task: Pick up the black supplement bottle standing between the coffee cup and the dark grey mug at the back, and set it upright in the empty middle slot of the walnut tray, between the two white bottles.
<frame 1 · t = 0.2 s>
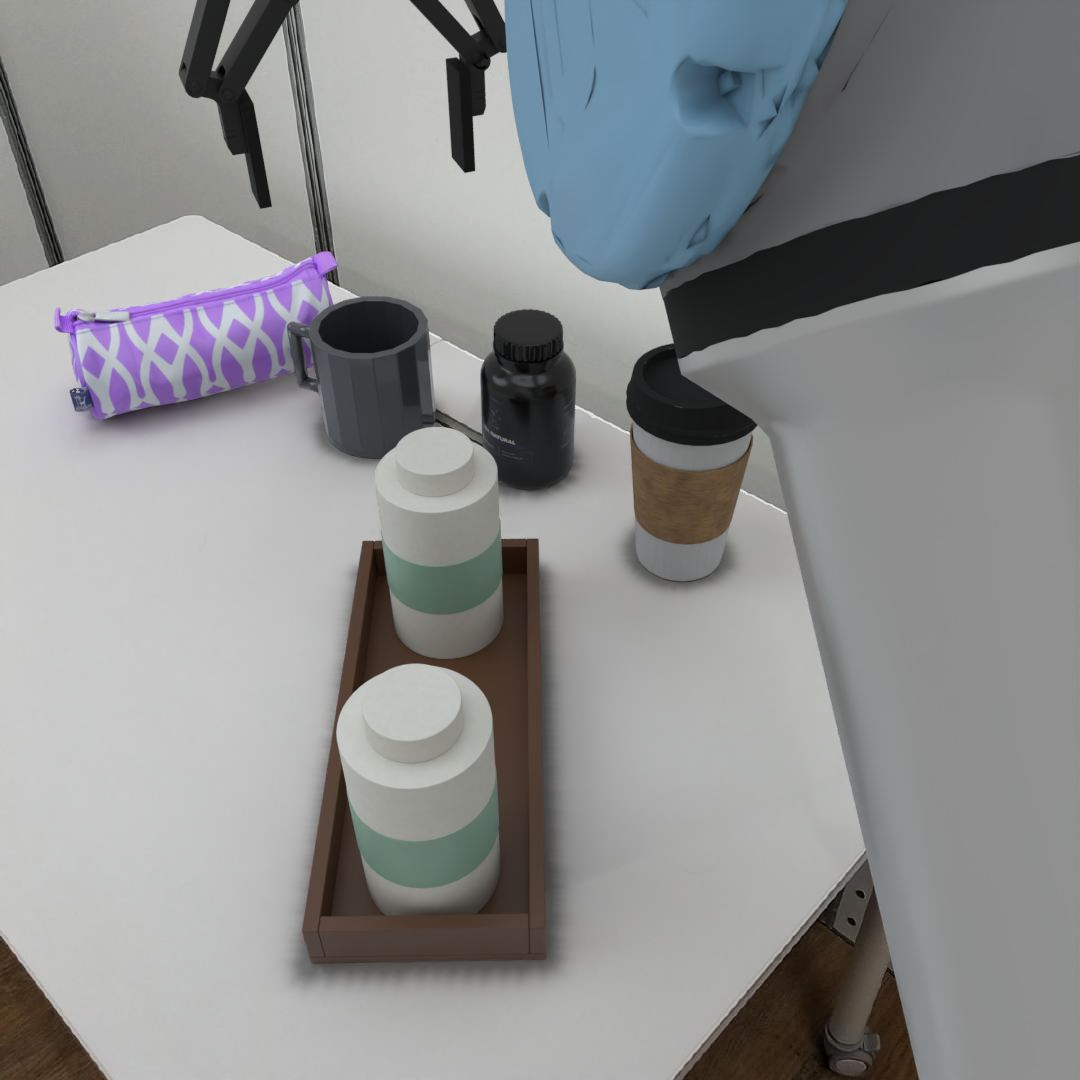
hand: (365, 181, 73), 21 cm above the table, tool pointing down, fingers open, 13 cm apart
coffee cup: (678, 554, 77), on the table
white bottle near: (433, 868, 58), point 1 cm above the table, touching tray
supplement bottle: (529, 465, 84), on the table
white bottle far: (449, 618, 71), point 1 cm above the table, touching tray
pencil case: (217, 383, 93), on the table
grey mug: (381, 424, 88), on the table
tray: (442, 736, 65), on the table
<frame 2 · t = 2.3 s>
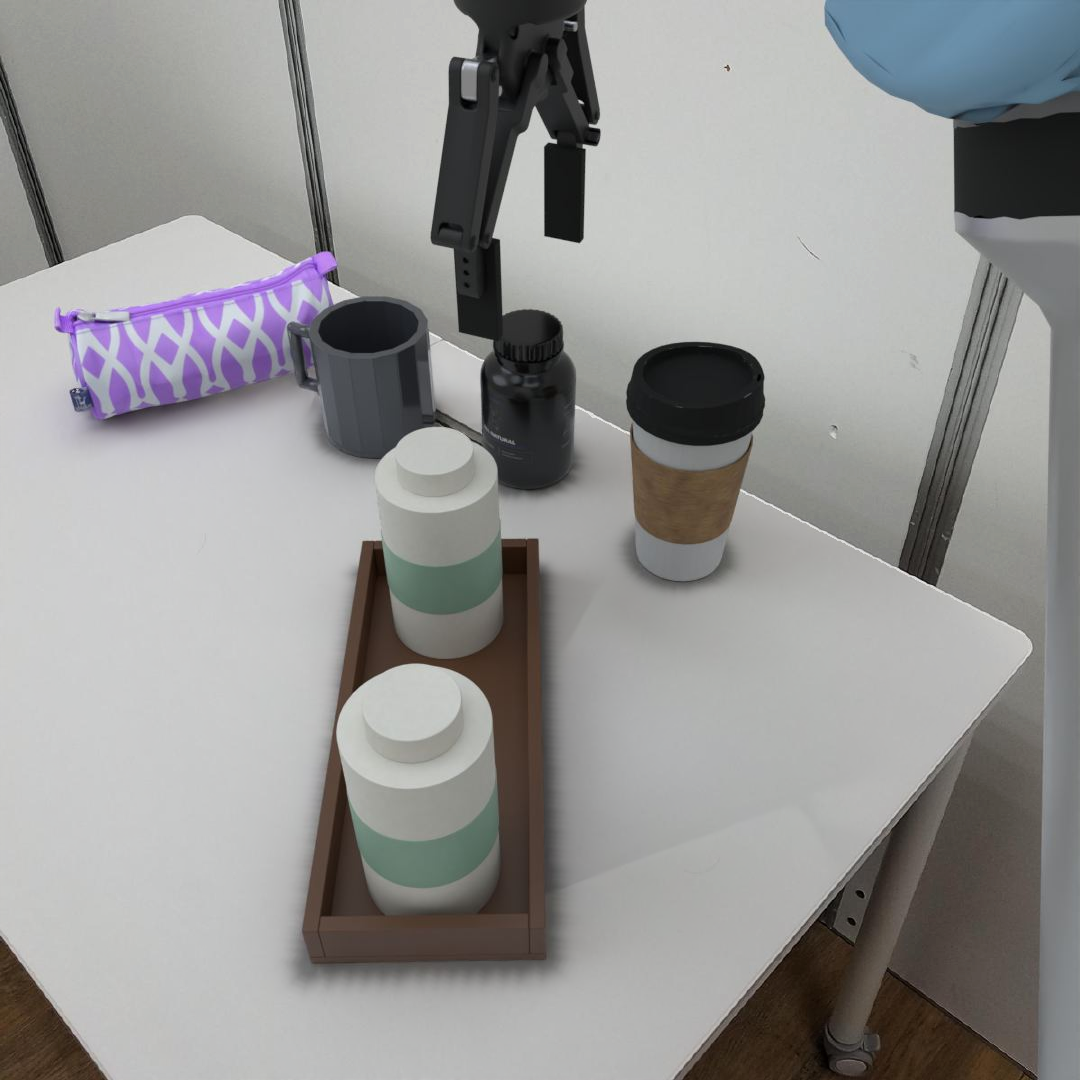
hand: (525, 283, 74), 15 cm above the table, tool pointing down, fingers open, 13 cm apart
nothing on the table moved.
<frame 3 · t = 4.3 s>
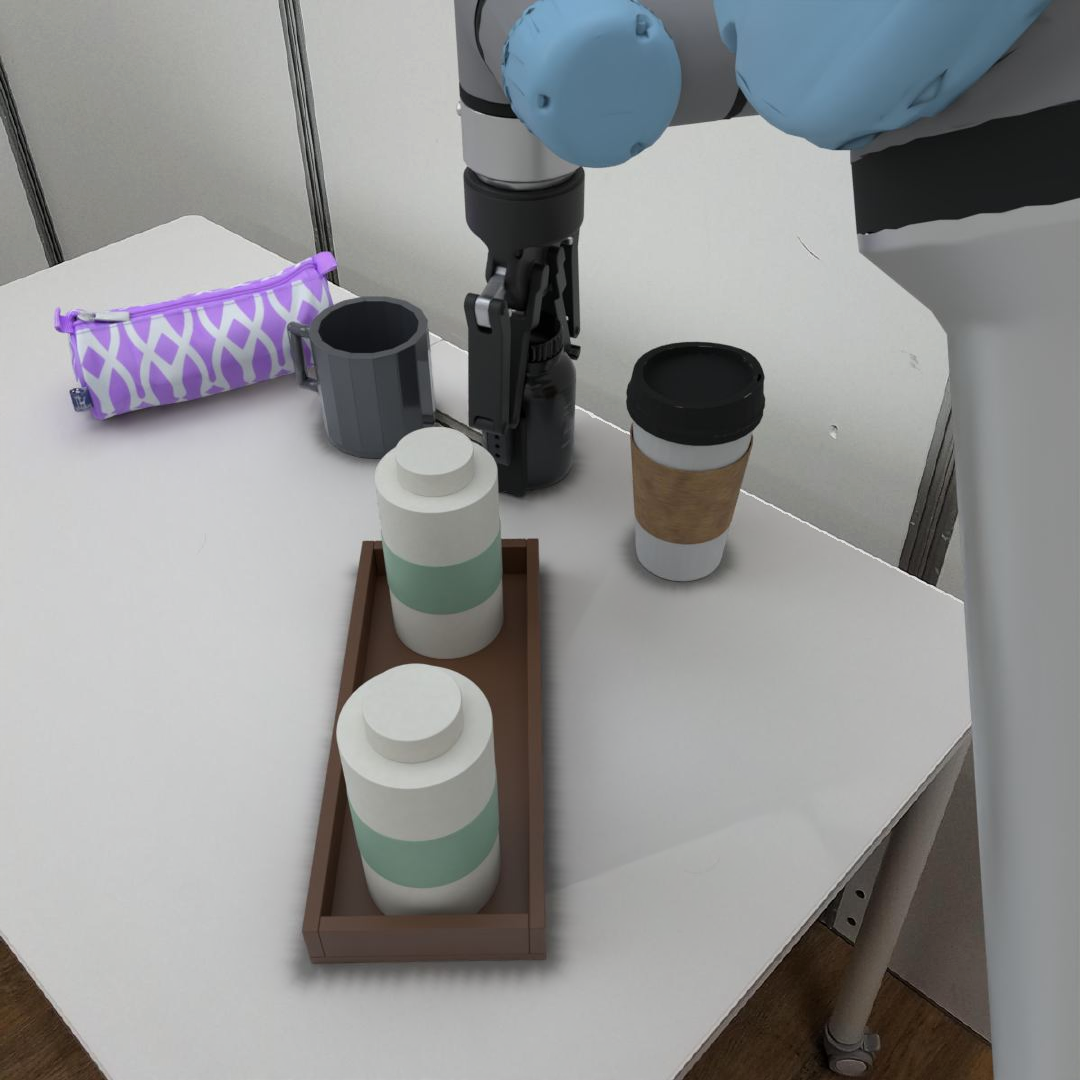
hand: (528, 459, 84), 0 cm above the table, tool pointing down, fingers closed on supplement bottle, 7 cm apart
supplement bottle: (529, 465, 84), on the table, touching gripper
everything else where it was.
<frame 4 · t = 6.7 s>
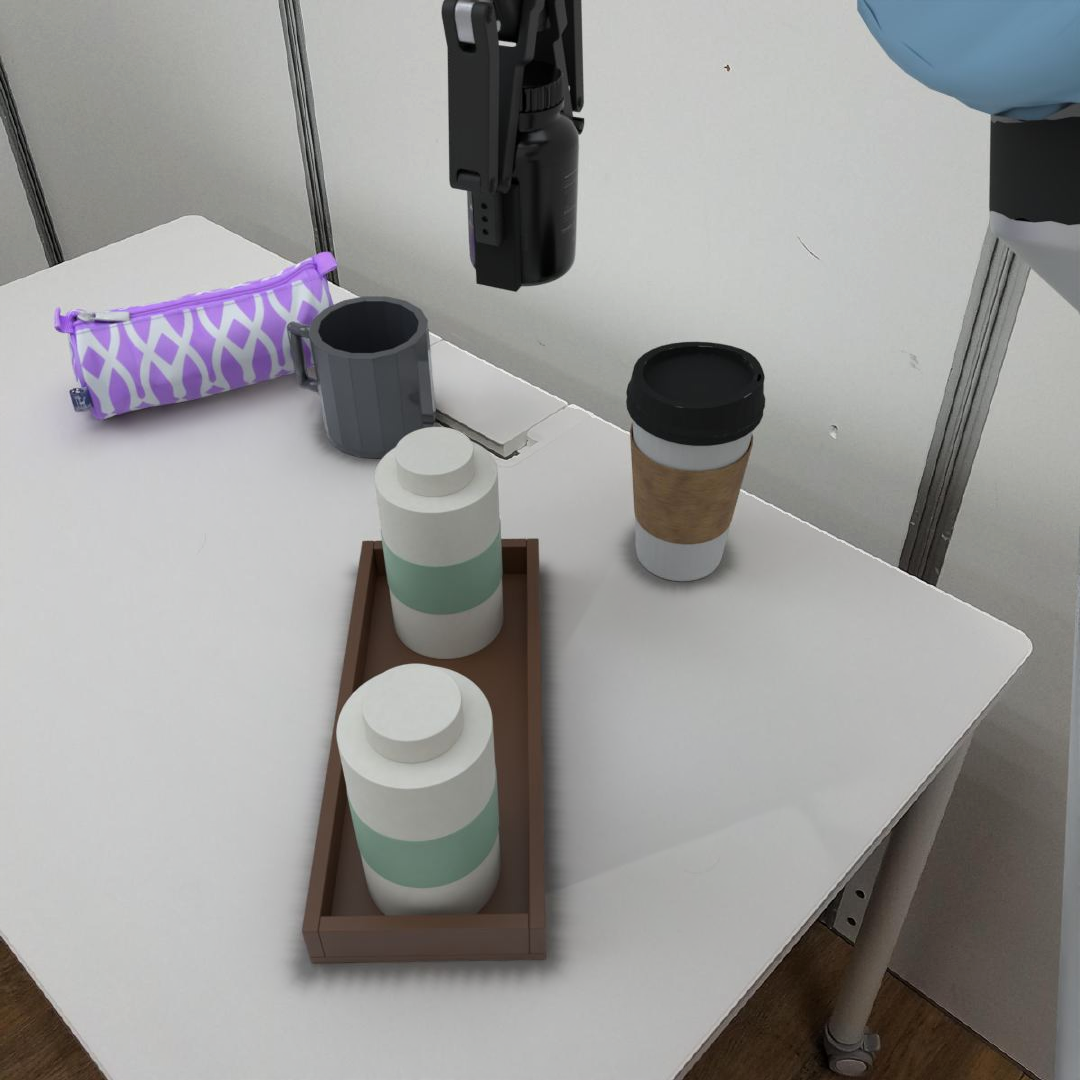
hand: (523, 257, 71), 18 cm above the table, tool pointing down, fingers closed on supplement bottle, 7 cm apart
supplement bottle: (523, 266, 72), point 17 cm above the table, touching gripper
everything else where it was.
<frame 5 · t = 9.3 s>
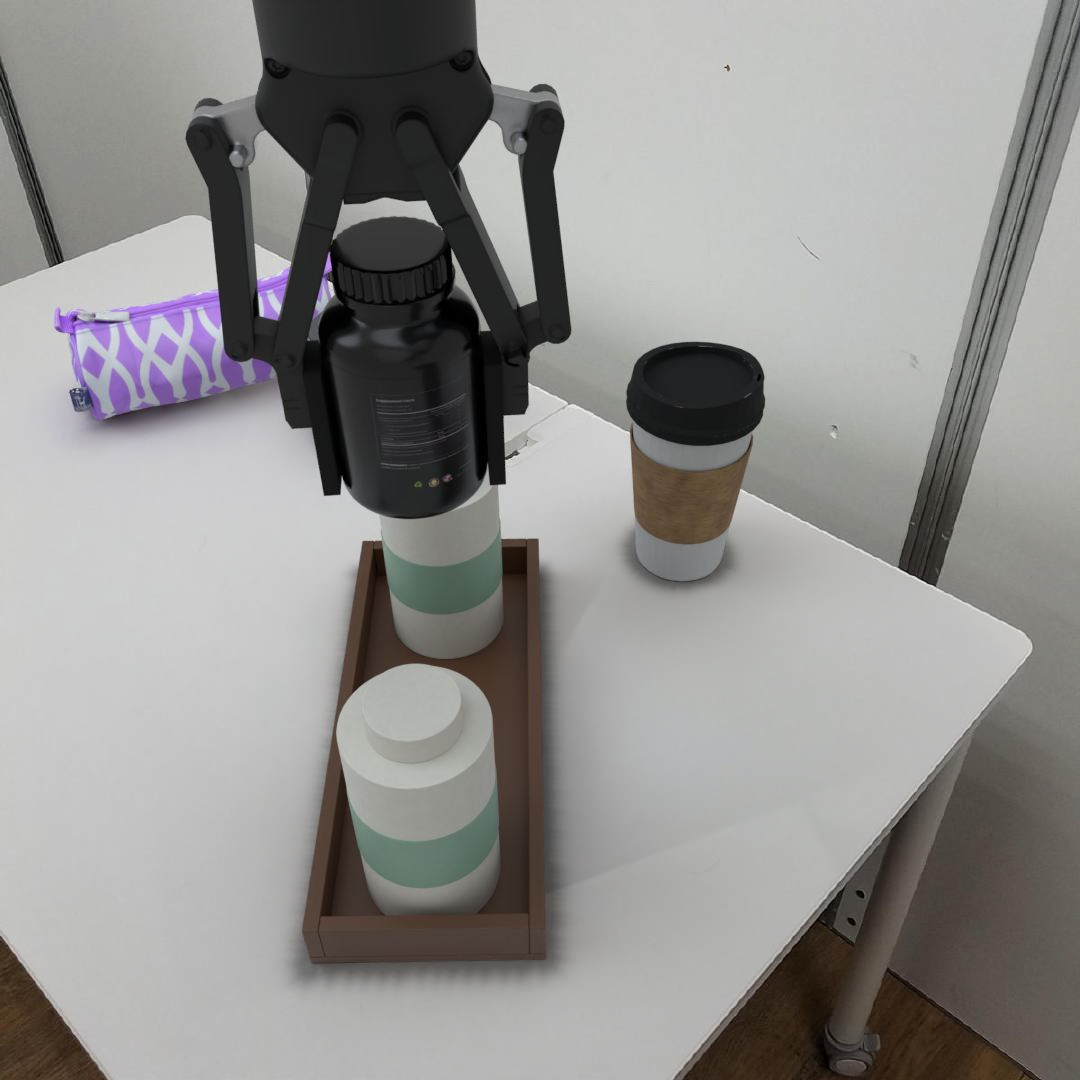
hand: (415, 471, 52), 20 cm above the table, tool pointing down, fingers closed on supplement bottle, 7 cm apart
supplement bottle: (416, 480, 52), point 19 cm above the table, touching gripper
everything else where it was.
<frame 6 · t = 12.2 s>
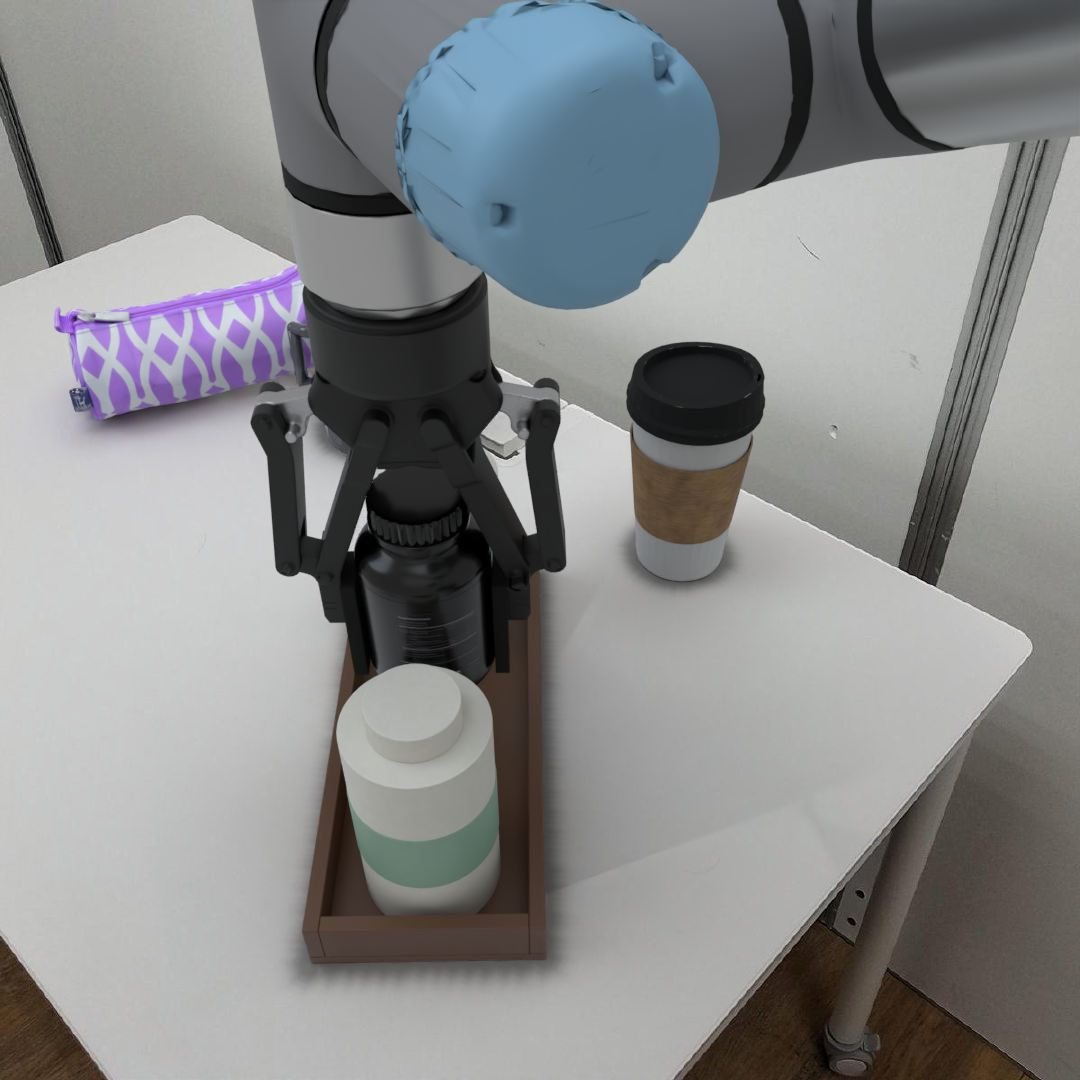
hand: (433, 654, 60), 7 cm above the table, tool pointing down, fingers closed on supplement bottle, 7 cm apart
supplement bottle: (434, 661, 61), point 7 cm above the table, touching gripper
everything else where it was.
when the fingers open (2 cm above the table, at t = 14.8 s): supplement bottle stays where it is, resting on tray.
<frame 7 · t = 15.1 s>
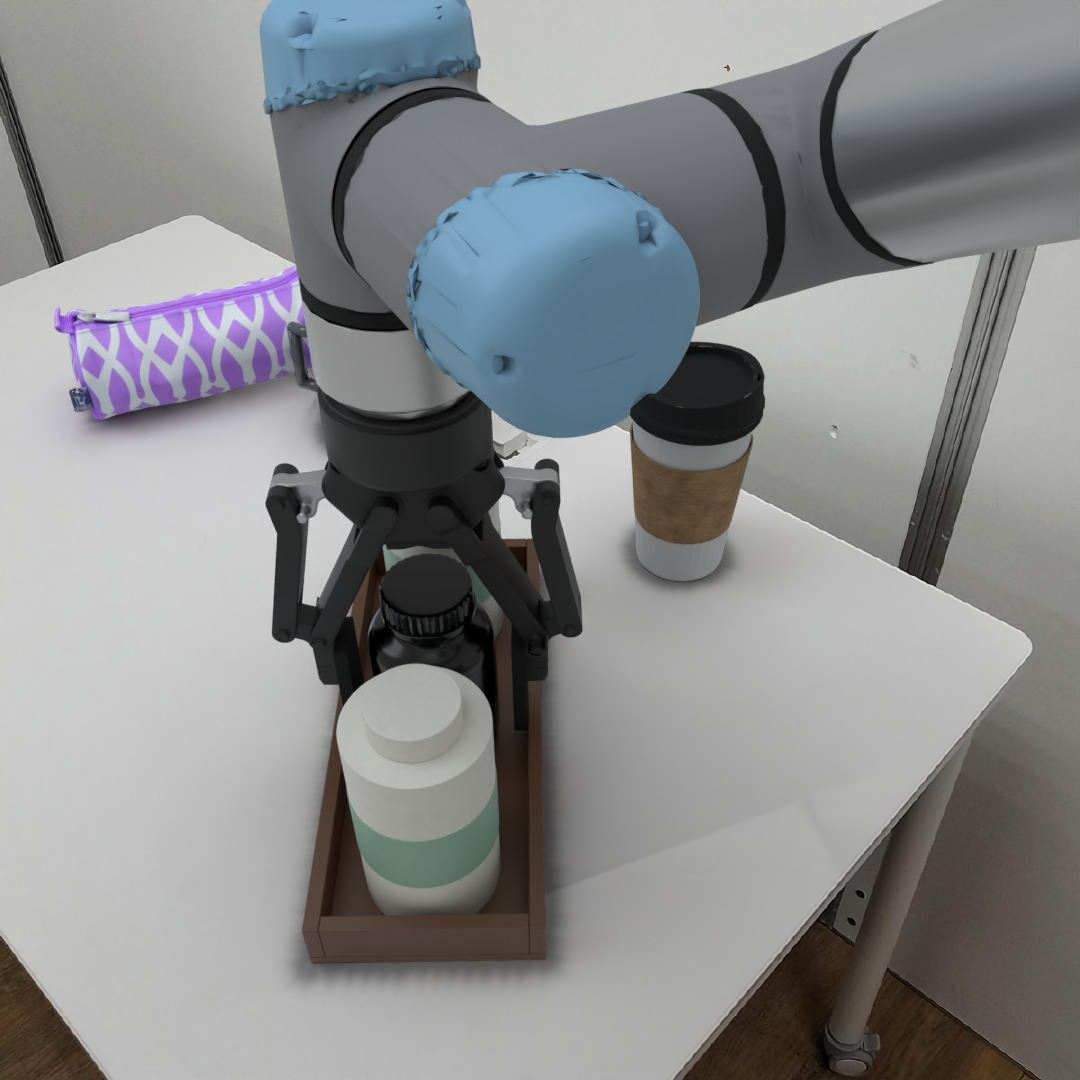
hand: (439, 712, 63), 3 cm above the table, tool pointing down, fingers open, 9 cm apart
supplement bottle: (442, 731, 65), resting on tray
everything else where it was.
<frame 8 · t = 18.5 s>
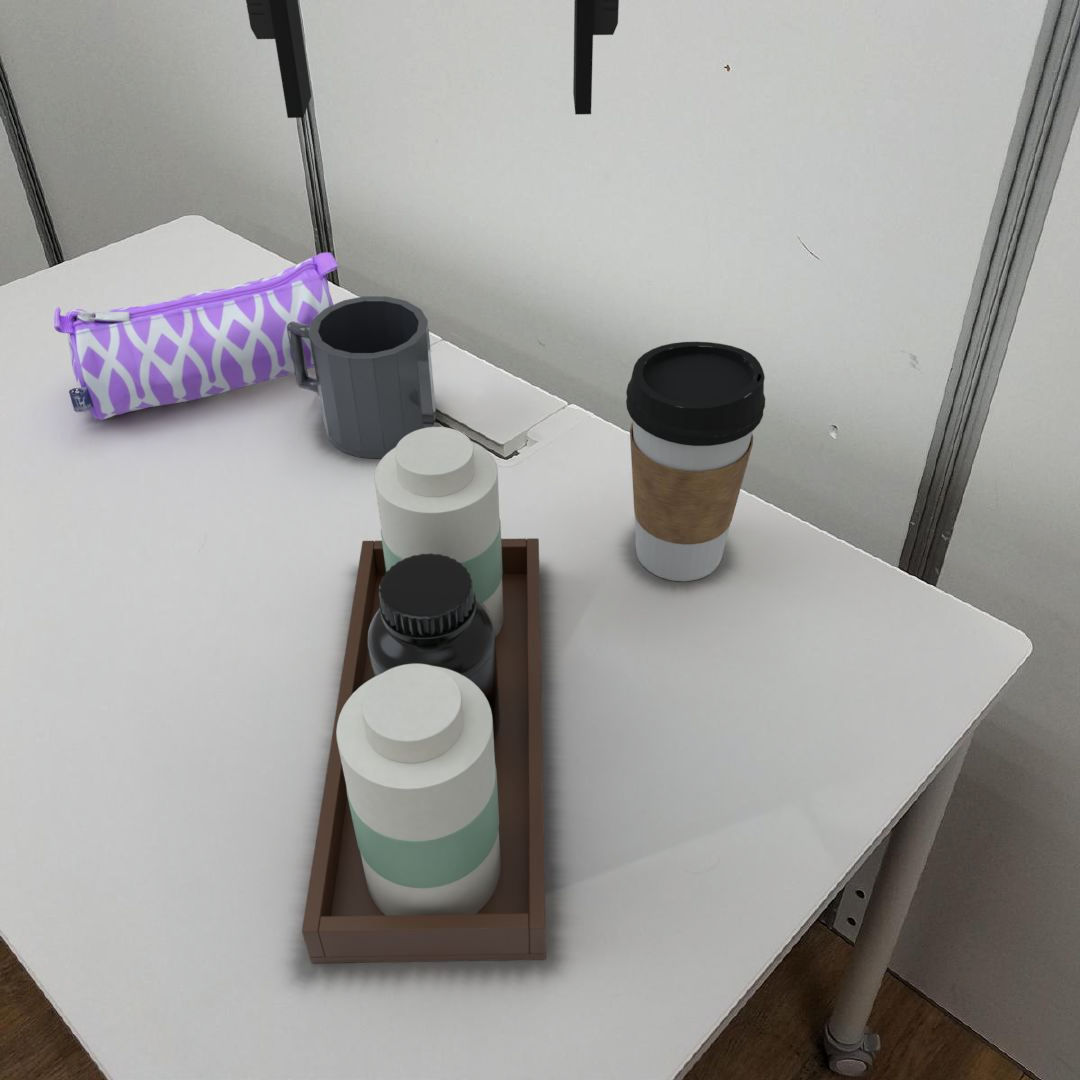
hand: (441, 106, 54), 32 cm above the table, tool pointing down, fingers open, 13 cm apart
nothing on the table moved.
at the end: supplement bottle 9.0 cm from the white bottle near (horizontally); supplement bottle 8.9 cm from the white bottle far (horizontally); supplement bottle tilted 0° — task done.
